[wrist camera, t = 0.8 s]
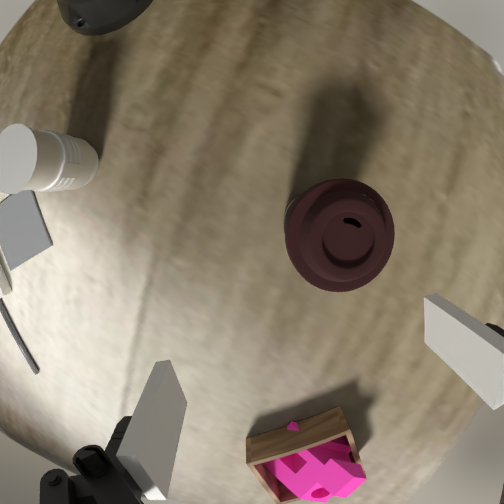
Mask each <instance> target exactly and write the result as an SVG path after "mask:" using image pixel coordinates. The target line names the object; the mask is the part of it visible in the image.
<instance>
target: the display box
mask: <svg viewBox="0 0 504 504" xmlns="http://www.w3.org/2000/svg"><path fill="white" fill-rule="evenodd" d="M296 423H297V424H298V428H299V431H296V430H288V429H287V426H288V425H287V426H284V427H281V428H278V429H275V430H272V431H269V432H266V433H263V434H259V435H256V436H253V437H249V438H246V464H247V465H248V467H249V468H250V469H251V471H252V472H253V474H254V475H255V476H256V478H257V479H258V480H259V482H260V483H261V484H262V486H263V487H264V488H265V490H266V491H267V492H268V493H269V495H270V496H271V497H272V499H273V500H274V501H275V502H276V504H285V503H289V502H293V501H296V500H300V499H299V498H298V497H297V496H296V495H295V494H294V493H293V492H292V491H290V490H289V489H288V488H287V487H286V486H285V485H284V484H283V483H282V482H281V481H280V480H279V479H278V478H276V477H275V476H274V475H273V474H272V473H271V472H270V471H269V470H268V469H267V468H266V467H265V465H264V462H268V461H271V460H275V459H278V458H281V457H285V456H288V455H291V454H294V453H297V452H300V451H303V450H306V449H309V448H312V447H315V446H318V445H320V444H323V443H326V442H328V441H331V440H334V439H336V438H339V437H341V436H344V435H346V437H347V440H348V442H349V445H350V448H351V451H352V454H350V455H349V458H350V461H351V463H357V464H361V466H362V469H363V471H364V468H363V465H362V462H361V459H360V456H359V453H358V451H357V448H356V445H355V442H354V439H353V436H352V433H351V430H350V428H349V425H348V423H347V421H346V418H345V416H344V414H343V411H342V409H341V407H340V406H338V407H336V408H333V409H331V410H328V411H326V412H323V413H321V414H318V415H315V416H313V417H310V418H307V419H305V420H302V421H299V422H296ZM364 474H365V471H364ZM365 476H366V474H365Z"/></svg>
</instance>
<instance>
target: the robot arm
mask: <svg viewBox="0 0 504 504" xmlns="http://www.w3.org/2000/svg"><path fill="white" fill-rule="evenodd" d="M57 2H58V6H59V9H60V12H61V15H62V18H63V20H64V21H65V23H66V24H67V25H68V26H69V27H70V28H72V29H73V30H74V31H76V32H77V33H80V34H83V35H101V34H105V33H109V32H112V31H114V30H117V29H119V28H121V27H123V26H125V25H126V24H128V23H129V22H131V21H132V20H134V19H135V18H136V17H138V16H139V15H140V14H141V13H142V12H143V11H144V10H145V9H146V8H147V7H148V6H149V4H150V3H151V2H152V0H57ZM424 312H425V343H426V344H427V345H428V346H429V347H430V348H431V349H432V350H433V351H434V352H435V353H436V354H437V355H438V356H439V357H440V358H441V359H442V360H443V361H445V362H446V363H447V364H448V365H449V366H450V367H451V368H452V369H453V370H454V371H455V372H456V373H457V374H458V375H459V376H460V377H461V378H462V379H463V380H464V381H465V382H466V383H467V384H468V385H469V386H470V387H471V388H472V389H473V390H474V391H475V392H476V393H477V394H478V395H479V396H480V397H481V398H482V399H483V400H484V401H485V402H486V403H487V404H488V405H489V406H490V407H491V408H492V409H493V410H495V409H497V408H498V407H500V406H501V405H503V404H504V330H503V329H502V328H500V327H499V326H497V325H493V324H490V323H487V324H483V323H482V322H480V321H479V320H477V319H476V318H474V317H473V316H471V315H469V314H468V313H466V312H465V311H463V310H462V309H460V308H459V307H457V306H456V305H454V304H452V303H451V302H449V301H448V300H446V299H445V298H443V297H441V296H440V295H438V294H437V293H435V294H432V295H429V296H426V297H424ZM186 406H187V400H186V398H185V396H184V393H183V391H182V389H181V386H180V384H179V381H178V379H177V376H176V374H175V371H174V369H173V366H172V364H171V361H170V360H166V361H159V362H156V363H155V365H154V367H153V370H152V372H151V374H150V376H149V379H148V381H147V383H146V385H145V388H144V390H143V392H142V395H141V397H140V399H139V402H138V404H137V406H136V409H135V411H134V413H133V416H124V417H123V418H122V419H121V421H120V422H119V423H118V424H117V425H116V428H115V430H114V433H113V434H112V436H111V440H110V441H109V443H108V445H107V447H106V449H105V451H104V450H103V449H102V448H101V447H100V446H98V445H88V446H85V447H83V448H81V449H79V450H78V451H77V452H76V453H75V454H74V457H73V464H74V465H75V467H76V468H77V469H78V471H79V472H80V473H81V475H76V476H71V477H69V476H68V475H67V473H66V472H65V471H64V470H61V469H53V470H50V471H48V472H47V473H45V474H44V475H43V477H42V478H41V481H40V504H144V503H143V502H142V501H141V500H140V499H141V495H142V492H143V493H144V494H145V496H146V497H147V498H148V499H149V500H167V496H168V491H169V486H170V481H171V476H172V471H173V466H174V461H175V457H176V452H177V447H178V443H179V438H180V433H181V429H182V424H183V420H184V415H185V411H186ZM500 504H504V485H503V491H502V496H501V500H500Z"/></svg>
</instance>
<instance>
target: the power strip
mask: <svg viewBox="0 0 504 504" xmlns="http://www.w3.org/2000/svg"><path fill="white" fill-rule="evenodd" d="M11 292H12V289H11V287H10V285H9V283H8V280H7V278H6V276H5V273H4V271H3V268H2V266H1V263H0V312H1V314H2V316H3V318H4V320H5V322H6V324H7V326H8V328H9V330H10V332H11V333H12V335H13V337H14V339H15V341H16V343H17V345H18V346H19V348H20V350H21V352H22V353H23V355H24V357H25V359H26V360H27V362H28V364H29V365H30V367H31V369H32V370H33V372H34V373H35V375H36V374H38V373H39V370H38V369H37V367H36V365H35V364H34V362H33V360H32V359H31V357H30V355H29V354H28V352H27V350H26V348H25V347H24V345H23V343H22V341H21V339H20V337H19V336H18V334H17V332H16V330H15V328H14V326H13V324H12V322H11V320H10V318H9V316H8V314H7V312H6V310H5V308H4V306H3V304H2V301H1V298H2V297H4V296H6V295H7V294H9V293H11Z"/></svg>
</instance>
